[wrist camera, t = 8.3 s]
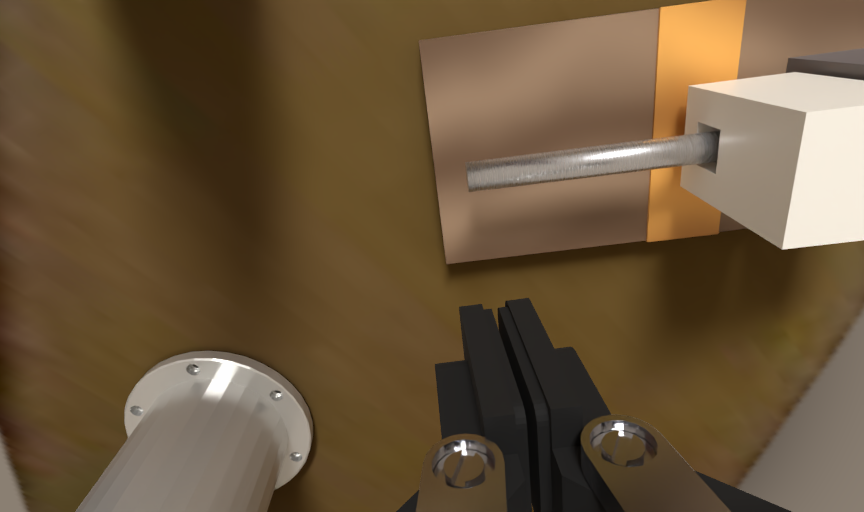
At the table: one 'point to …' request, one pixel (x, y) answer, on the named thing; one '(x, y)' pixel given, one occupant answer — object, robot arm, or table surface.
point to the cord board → (599, 114)
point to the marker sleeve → (783, 156)
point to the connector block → (830, 64)
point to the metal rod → (593, 161)
